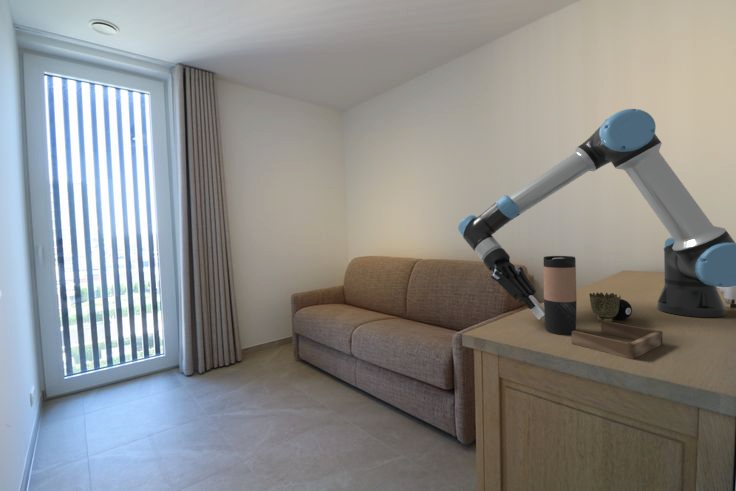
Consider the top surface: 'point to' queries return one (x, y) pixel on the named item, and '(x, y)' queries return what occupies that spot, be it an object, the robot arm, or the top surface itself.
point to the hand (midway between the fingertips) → (543, 316)
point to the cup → (605, 305)
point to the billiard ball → (623, 310)
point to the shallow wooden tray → (641, 345)
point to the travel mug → (560, 294)
